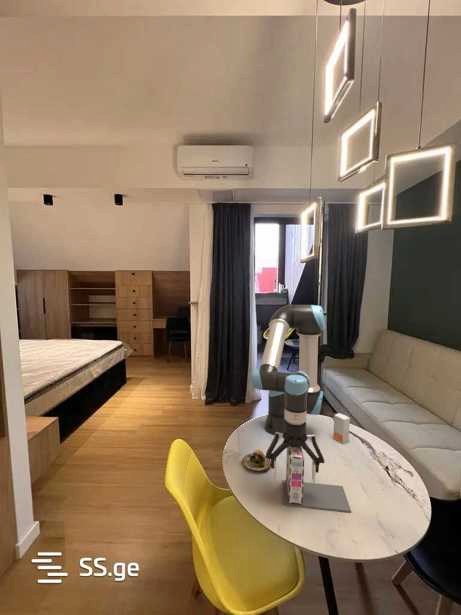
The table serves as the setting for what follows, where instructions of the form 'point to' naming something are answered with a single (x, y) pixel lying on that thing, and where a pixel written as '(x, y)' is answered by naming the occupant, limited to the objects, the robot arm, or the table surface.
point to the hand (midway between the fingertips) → (294, 478)
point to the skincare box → (341, 428)
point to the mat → (320, 497)
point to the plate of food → (257, 461)
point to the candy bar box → (295, 474)
